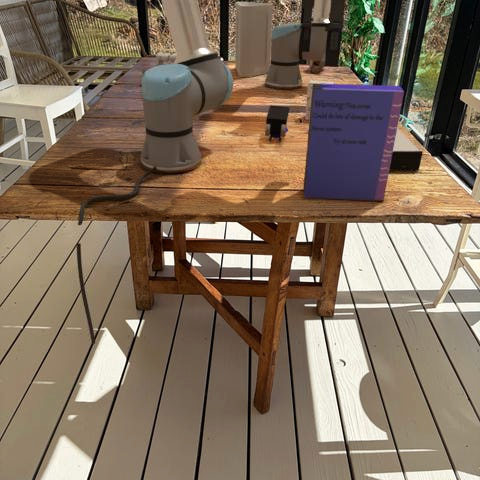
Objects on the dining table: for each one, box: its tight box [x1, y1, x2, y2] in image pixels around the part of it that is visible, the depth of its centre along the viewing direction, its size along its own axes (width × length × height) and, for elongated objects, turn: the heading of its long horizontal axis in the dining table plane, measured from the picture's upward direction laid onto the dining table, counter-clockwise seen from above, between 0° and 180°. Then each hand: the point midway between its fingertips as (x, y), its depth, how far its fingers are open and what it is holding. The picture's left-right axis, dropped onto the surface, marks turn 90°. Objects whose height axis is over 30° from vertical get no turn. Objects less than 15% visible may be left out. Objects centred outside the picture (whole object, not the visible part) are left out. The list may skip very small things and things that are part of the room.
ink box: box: [304, 80, 336, 121], centre depth 155 cm, size 8×5×12 cm, turn 80°
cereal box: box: [302, 83, 405, 202], centre depth 102 cm, size 17×5×24 cm, turn 86°
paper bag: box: [234, 1, 274, 78], centre depth 210 cm, size 19×15×28 cm
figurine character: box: [264, 105, 290, 143], centre depth 140 cm, size 7×8×15 cm
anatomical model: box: [306, 60, 325, 74], centre depth 220 cm, size 13×9×15 cm
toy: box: [155, 51, 177, 67], centre depth 223 cm, size 24×25×7 cm
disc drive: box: [389, 127, 424, 172], centre depth 128 cm, size 18×22×5 cm
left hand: (331, 60), depth 101 cm, fingers open, 13 cm apart
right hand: (305, 47), depth 150 cm, fingers open, 13 cm apart
